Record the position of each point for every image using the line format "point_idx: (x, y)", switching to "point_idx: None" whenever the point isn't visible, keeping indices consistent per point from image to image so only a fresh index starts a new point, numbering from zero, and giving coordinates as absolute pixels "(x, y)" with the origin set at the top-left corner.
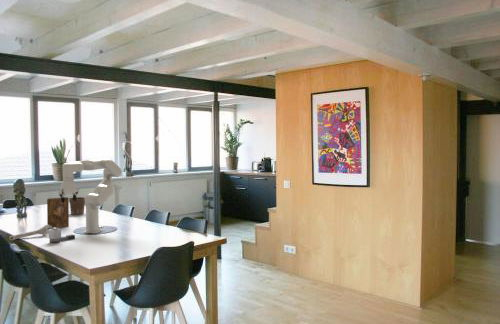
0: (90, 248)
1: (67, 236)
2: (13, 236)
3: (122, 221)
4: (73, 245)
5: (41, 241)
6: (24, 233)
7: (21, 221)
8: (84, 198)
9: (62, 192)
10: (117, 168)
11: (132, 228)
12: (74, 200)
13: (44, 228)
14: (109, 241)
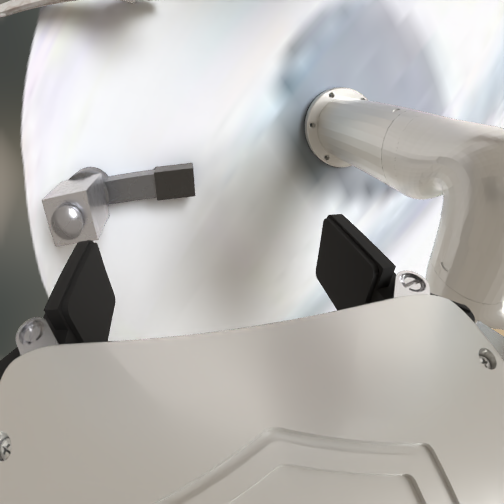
0: None
1: (155, 187)
2: (1, 12)
3: (488, 92)
4: (131, 296)
5: (54, 128)
6: (34, 2)
7: None
8: None
9: (43, 390)
10: None
11: (435, 209)
12: (318, 259)
13: None
14: (255, 322)
